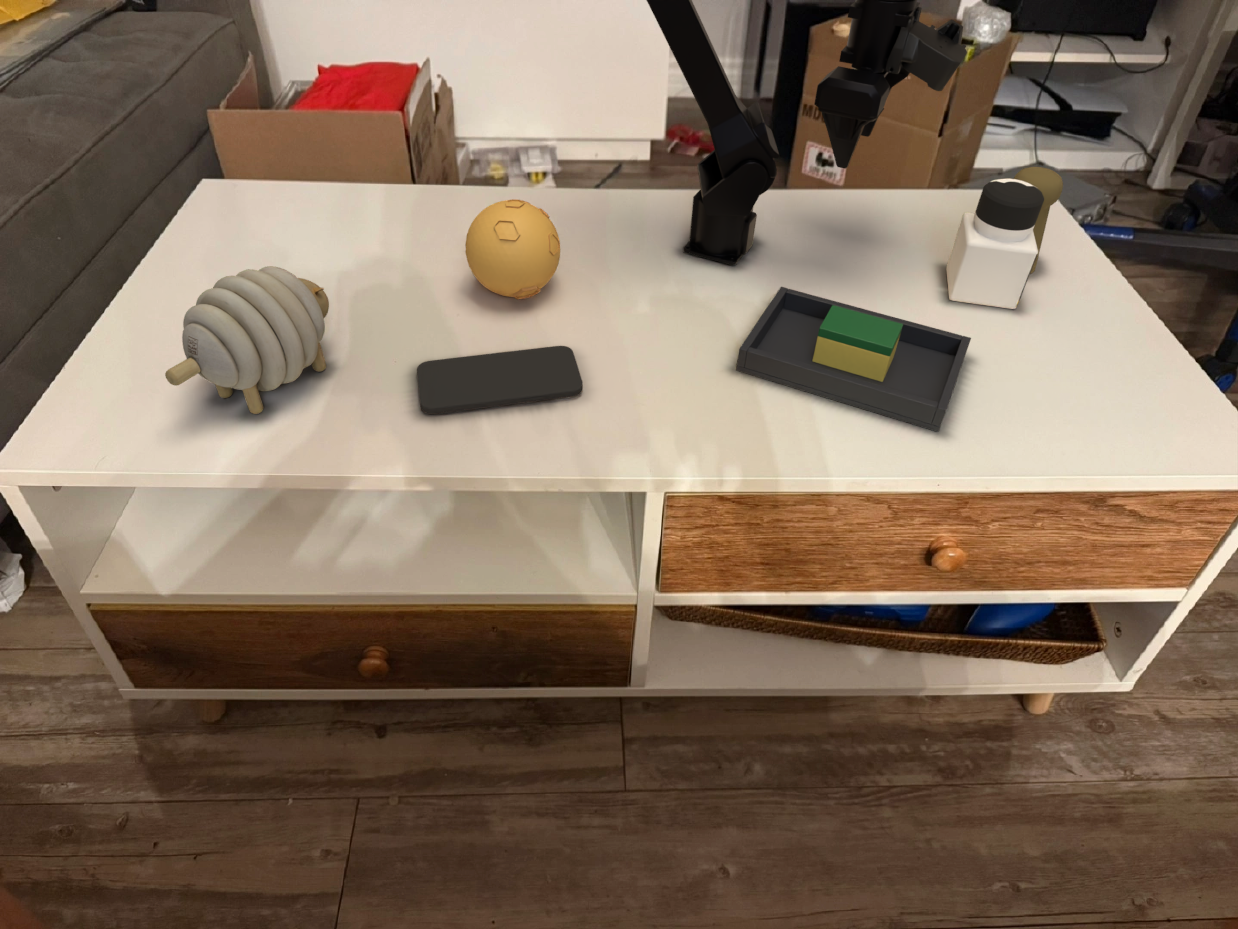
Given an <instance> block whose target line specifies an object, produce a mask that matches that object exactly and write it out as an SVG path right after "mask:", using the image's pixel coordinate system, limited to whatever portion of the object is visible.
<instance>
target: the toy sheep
mask: <svg viewBox="0 0 1238 929" xmlns="http://www.w3.org/2000/svg"><path fill="white" fill-rule="evenodd" d="M329 309H330V300H329V297H328V295H327V293H326V291H325V287H320V286H319V285H318V284H317V283H315V282H313V281H311V280H308V279H306V278H301V277H297V276H296V275H295V274H293V273H292V272H291V271H289V270H287V269H285V268H283V267H279V266H273V265H269V266H268V265H267V266H264V267H261V268H259V269H258V270H257V269H253V268H252V269H251V268H250V269H249V268H248V269H244V270H242V271H239V272H238V273H236V275H227V276H224V277H221V278H220V279H218V280H217V281H216V282H214V284H213V287H212V288H209V289H205V290H204V291H203V292H202V293H201V294H199V296H198V298H197V299H196V302H195V305H193V306H191V307H190V308H189V309H188V310H187V311H186V312H185V314H184V317H183V320H182V328H183V330H182V336H181V338H182V340H181V341H182V349H183V352H184V356H185V358H186V359H184V360H183V361H181V362H179V363H177V364H176V365H174V366H172V367H170V368H168V369H167V370H166V371H165V373H164V374H165V379H166V380H167V382H168V383H169V384H170V385H172V386H174V387H175V386H176V387H177V386H180V385H181V384H183V383H185V382H187V381H188V380H190V379H192V378H193V377H195V376H197V375H199V376H200V377H202V379H204V380H206V381H207V382H209V383H212V384H214V385H215V388H216V391H217V394H218V396H219V397H220V398H221V399H229V398H230V397H231V396H232V395H233V393H234V392H233V391H234V390H239V391H242V393H243V396H244V399H245V402H246V405H247V408H248V411H249V412H250V413H251V414H253V415H258V414H260V413H262V412H263V411H264V404H263V401H262V399H261V396H260V392H259V391H261V392H270V391H274V390H277V388H279V387H280V386H281V385H283V384H284V385H285V384H290V383H293V382H295V381H296V380H297V379H298V378H299V377H300V376H301V374H302V372H303V370H304V369H306V368H308V367H309V366H311V367H312V369H313V370H314V371H316V372H320V373H321V372H323V371H325V370H326V368H327V362H326V359H325V356H324V351H323V349H322V344H321V341H322V340H323V338H324V335H325V330H326V328H325V327H326V322H325V318H326V317H327V315H328V313H329ZM233 389H234V390H233Z"/></svg>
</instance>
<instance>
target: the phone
mask: <svg viewBox="0 0 1238 929" xmlns="http://www.w3.org/2000/svg"><path fill="white" fill-rule="evenodd" d="M416 374H417V375H416V376H417V386H418V397H419V404H420V409H421V410H422V412H423V413H425V414H428V415H438V414H445V413H455V412H461V411H469V410H478V409H485V408H492V407H494V408H495V407H501V406H509V405H518V404H524V403H525V404H526V403H534V402H540V401H542V402H543V401H548V400H549V401H550V400H556V399H557V400H558V399H565V398H572V397H577V396H579V395H580V394H582V392H583V388H584V387H583V385H584V384H583V379H582V375H581V372H580V370H579V365H578V363H577V360H576V356H575V354H574V351H573V349H572V348H571V347H570V346H566V345H553V346H544V347H535V348H527V349H519V350H511V351H510V350H509V351H502V352H501V351H500V352H493V353H485V354H475V355H467V356H459V357H458V356H457V357H449V358H442V359H434V360H427V361H423V362H421V363H420V364H418V366H417V367H416Z"/></svg>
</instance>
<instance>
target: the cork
mask: <svg viewBox="0 0 1238 929" xmlns="http://www.w3.org/2000/svg"><path fill="white" fill-rule="evenodd" d="M1012 179H1016V180H1021V181H1024V182H1027V183H1029V184H1031V185H1033V186H1035V187H1036V188H1038V189H1039V190H1040V191H1041V192H1042V194H1043V196H1044V202H1043V205H1042V207H1041V210H1040V213H1039V215H1038V218H1037V221H1036V223H1035V226H1034V228H1033V232H1034V237H1035V241H1036V245H1037V249H1038V255H1037V257H1036V260H1035V262H1034V265H1033V267H1032V270H1031V272H1030V275H1032V274H1033V273H1034V272H1036V269H1037V264H1038V259H1039V255H1040V251H1041V247H1042V244H1043V239H1044V234H1045V231H1046V226H1047V222H1048V217H1049V213H1050V209H1051V206H1053V205H1054V204H1055V203H1056V202H1058V200H1059V199H1060V197H1061V195H1062V193H1063V190H1064V182H1063V181H1064V180H1063V178H1062V176H1061V175H1060V174H1059V173H1057V172H1056V171H1054V170H1052V169H1050V168H1047V167H1043V166H1028V167H1024V168H1022V169H1020V170H1019V171H1018V172H1017V173H1016V174H1015V175H1014V177H1013V178H1012Z"/></svg>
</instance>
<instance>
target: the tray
mask: <svg viewBox="0 0 1238 929" xmlns="http://www.w3.org/2000/svg"><path fill="white" fill-rule="evenodd" d="M832 305H835V306H838V307H842V308H846V309H849V310H853V311H857V312H860V313H864V314H868V315H872V316H875V317H879V318H883V319H886V320H890V321H894V322H897V323H901V324H903V327H902V331H901V334H900V337H899V341H898V344H897V347H896V351H895V354H894V358H893V360H892V362H891V364H890V367H889V369H888V371H887V373H886V376H885V378H884V380H883V382H880V381H877V380H874V379H870V378H867V377H863V376H860V375H857V374H853V373H850V372H846V371H843V370H840V369H836V368H833V367H829V366H826V365H822V364H819V363H816V362H813V361H812V360H813V355H814V351H815V346H816V342H817V337H818V332H819V328H820V326H821V324H822V323H823V321H824V319H825V317H826V316H827V314H828V312H829V310H830V309H831V307H832ZM971 339H972V337H969V336H965V335H962V334H958V333H955V332H951V331H947V330H943V329H940V328H936V327H932V326H929V325H925V324H921V323H917V322H913V321H910V320H907V319H903V318H899V317H895V316H891V315H888V314H884V313H881V312H876V311H873V310H869V309H866V308H862V307H857V306H855V305H851V304H848V303H844V302H840V301H836V300H832V299H829V298H824V297H821V296H818V295H814V294H810V293H806V292H802V291H799V290H795V289H792V288H788V287H785V286H780V287H779V289H778V290H777V292H775V295H774V297H772V298H771V301H770V302H769V304H768V305H767V307H766V308H765V310H764V311H763V312H762V314H761V316H760V317H759V319H758V320H757V322H756V323H755V325H754V326H753V327H752V328H751V330H750V332H749V334H748V335H747V337H746V338H745V340H744V341H743V343H741V345H740V346H739V348H738V355H737V360H736V366H735V367H736V369H735V370H736V371H737V372H740V373H744V374H747V375H750V376H753V377H756V378H760V379H763V380H766V381H770V382H773V383H776V384H780V385H783V386H787V387H789V388H793V389H796V390H800V391H803V392H805V393H809V394H812V395H815V396H820V397H822V398H825V399H828V400H832V401H835V402H839V403H841V404H845V405H849V406H851V407H855V408H858V409H862V410H865V411H868V412H872V413H875V414H878V415H882V416H883V417H887V418H890V419H891V418H892V419H894V420H897V421H901V422H904V423H908V424H910V425H914V426H918V427H921V428H923V429H926V430H930V431H934V432H937V433H939V431H940V429H941V426H942V424H943V421H944V418H945V415H946V413H947V409H948V406H949V404H950V400H951V398H952V396H953V393H954V389H955V386H956V383H957V381H958V377H959V375H960V372H961V369H962V367H963V363H964V360H965V357H966V354H967V351H968V348H969V345H970V342H971V341H972V340H971Z"/></svg>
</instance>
